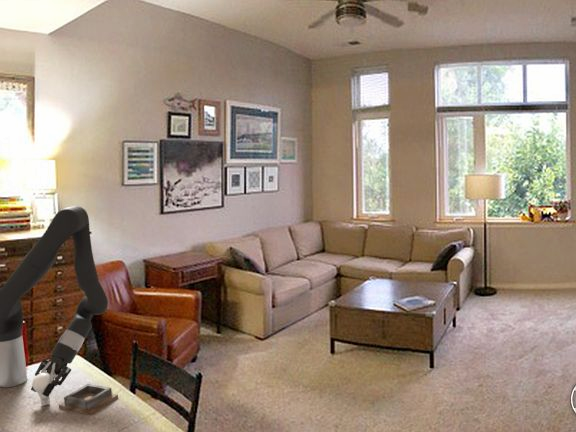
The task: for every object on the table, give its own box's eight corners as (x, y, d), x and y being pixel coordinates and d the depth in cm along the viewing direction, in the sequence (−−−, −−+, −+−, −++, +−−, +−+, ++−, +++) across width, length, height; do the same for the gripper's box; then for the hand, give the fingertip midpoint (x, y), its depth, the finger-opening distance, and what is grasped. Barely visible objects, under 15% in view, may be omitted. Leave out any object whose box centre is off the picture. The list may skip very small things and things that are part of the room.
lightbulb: (48, 410, 166) (44, 378, 164) (30, 409, 167) (26, 377, 166) (60, 400, 172) (56, 369, 170) (43, 400, 173) (39, 369, 172)
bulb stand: (59, 407, 167) (57, 397, 167) (86, 391, 178) (85, 381, 177) (91, 414, 161) (90, 404, 161) (118, 397, 172) (117, 387, 172)
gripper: (48, 338, 177) (18, 384, 169) (72, 345, 169) (42, 394, 161) (63, 347, 182) (35, 392, 174) (88, 354, 174) (60, 402, 166)
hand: (39, 393), depth 167 cm, fingers closed on lightbulb, 6 cm apart
